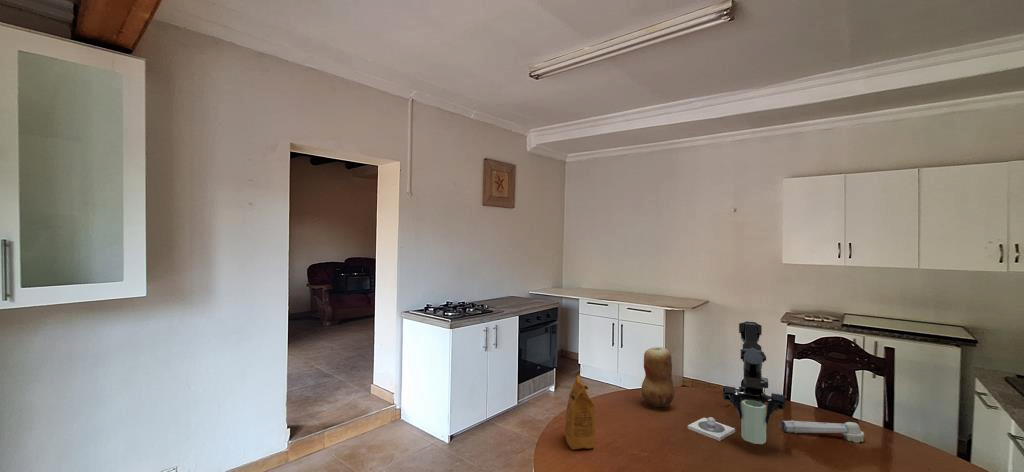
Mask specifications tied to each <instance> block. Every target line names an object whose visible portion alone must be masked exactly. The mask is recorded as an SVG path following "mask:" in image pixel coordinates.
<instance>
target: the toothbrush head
mask: <svg viewBox="0 0 1024 472" xmlns="http://www.w3.org/2000/svg"><path fill="white" fill-rule="evenodd" d="M780 424H781V428H782V430H783V432H784V433H789V434H790V433H794V434H800V433H801V434H802V433H803V434H804V433H805V434H808V433H812V434H814V433H817V434H819V433H821V434H822V433H823V434H824V433H826V434H828V433H829V434H836V433H837V434H842V435H843V438H844V440H846V441H848V442H854V443H860V442H864V441H865V440H864V437H865V433H864V432H863V431H862V430H861V427H860V426H859V424H858V423H856V422H853V421H847V422H844V423H837V422H819V421H818V422H817V421H802V420H793V419H791V420H781V422H780Z"/></svg>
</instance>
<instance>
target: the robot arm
mask: <svg viewBox="0 0 1024 472" xmlns="http://www.w3.org/2000/svg"><path fill="white" fill-rule="evenodd" d="M762 327H763V326H762V325H761V324H759V323H757V322H756V321H743V322H740V323H738V334H740V339H741V341H742V342H743V343H742V348H740V360H742V362H743V367H742V369H743V379H741V381H740V386H738V390H736V386H728V385H724V386H723V389H722V397H723V399H724V401H729V403H730V404H733V407H734V408H735V410H736V412H737V415H738V417H739V419H740V420H741V418H742V416H741V401H743V400H755V401H758V402H762V403H763V404H765V405H766V403H767V408H766V425H768V424H769V421H770V419H771V416H772V415H773V413H774V411H775V412H777V411H778V410H782V411H783V410H785V409H786V402H787V401H786V396H785V395H784V394H781V393H773V392H772V393H771V394H770V395H771V396H767V395H765V393H764V389H768V388H769V378H768V377H762V376H763V374H762V372H763V371H762V370H763V369H762V368H763V363H765V361H767V356H766V354H765V352H764V351H763V350H762V349H763V348H762V346H761V345H760V344H759V342H760V336H762V331H763V330H762Z"/></svg>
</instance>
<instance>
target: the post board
mask: <svg viewBox="0 0 1024 472" xmlns="http://www.w3.org/2000/svg"><path fill="white" fill-rule="evenodd" d="M687 429H688V430H689V431H693V432H695V433H698V434H701V435H703V436H706V437H708V438H710V439H713V440H715V441H719V442H721V441H722V440H725V438H727V437H729V436H731V435H733V434H734V433H736V428H734V427H732V426H729V425H726V424H723V423H720V422H718V421H716V419H715V418H714V417H712V416H710V417H707V418H706V417H702V418H700V419H698V420H696V421H694V422H692V423H689V424H688V425H687Z"/></svg>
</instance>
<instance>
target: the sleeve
mask: <svg viewBox="0 0 1024 472" xmlns="http://www.w3.org/2000/svg"><path fill="white" fill-rule="evenodd" d="M740 407H741V416H742V418H741V419H740V420H741V421H740V424H741V426H740V427H741V428H740V429H741V430H740V431H741V432H740V433H741V434H740V435H741V438H742V439H743V440H744V441H746V442H749V443H751V444H755V445H757V444H758V445H764V444H765V443H766V442H767V424H766V417H767V405H766V403H765V404H763V403H762V402H758V401H755V400H743V401H741V402H740Z"/></svg>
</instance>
